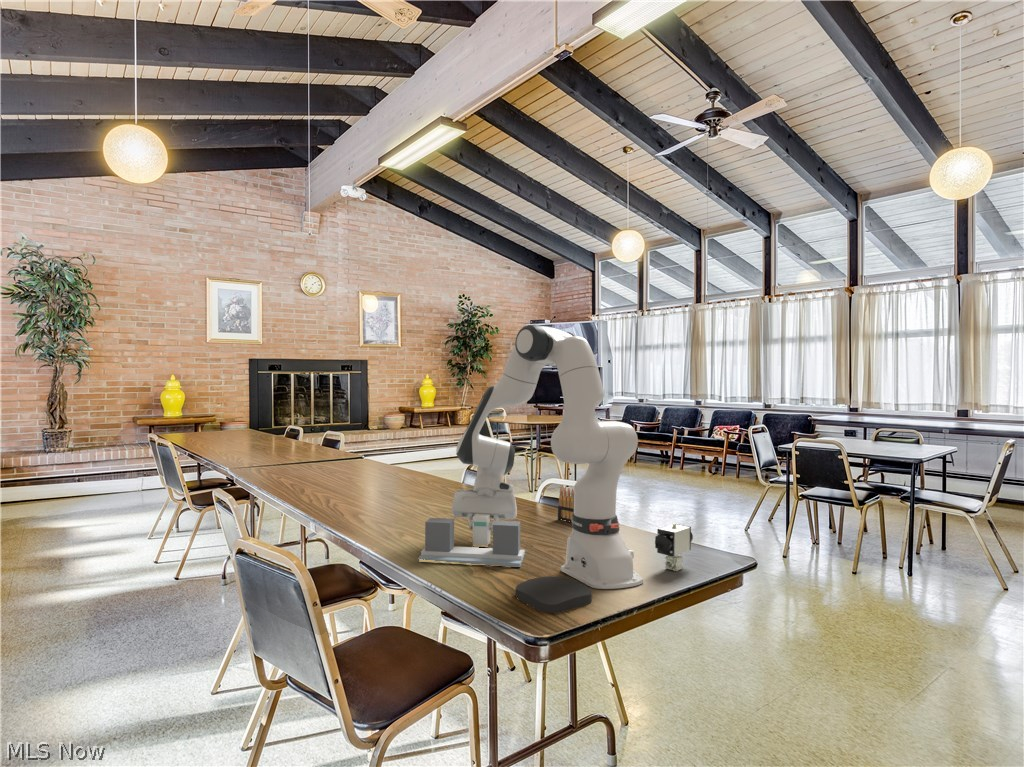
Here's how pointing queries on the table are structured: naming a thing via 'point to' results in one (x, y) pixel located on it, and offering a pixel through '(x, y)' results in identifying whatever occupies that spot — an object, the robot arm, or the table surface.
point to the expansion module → (481, 529)
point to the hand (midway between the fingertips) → (481, 529)
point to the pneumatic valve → (673, 544)
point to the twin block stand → (501, 554)
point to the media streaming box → (553, 594)
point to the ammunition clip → (566, 504)
